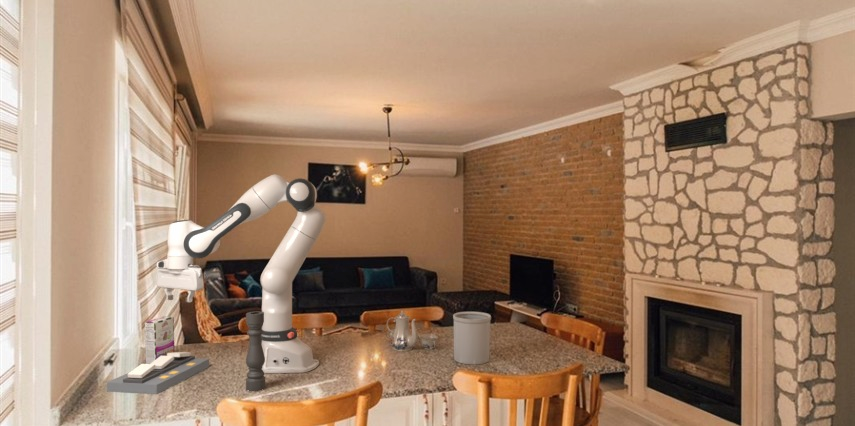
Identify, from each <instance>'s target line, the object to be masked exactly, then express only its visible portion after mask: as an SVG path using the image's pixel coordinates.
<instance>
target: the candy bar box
mask: <svg viewBox="0 0 855 426" xmlns="http://www.w3.org/2000/svg"><path fill="white" fill-rule="evenodd" d="M174 321H175V320H174V316H161V317H158V318H153V319H150V320H148V321H144V340H145V341H144V344H145V345H144V346H145V349H144V350H145V364H150V363H152V362H153V361H154V360H156V359H157V358H159V357H160V356H167V353H173V352H176V351H175V322H174Z"/></svg>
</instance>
